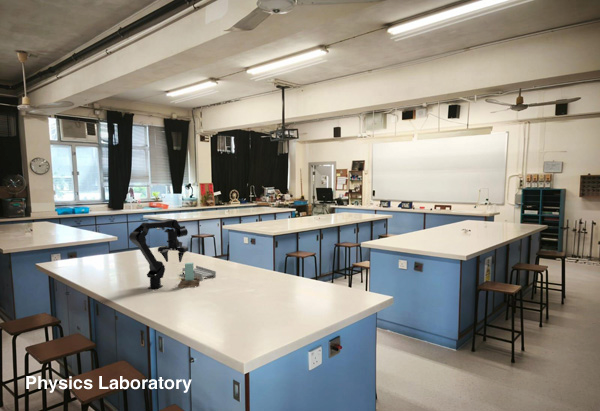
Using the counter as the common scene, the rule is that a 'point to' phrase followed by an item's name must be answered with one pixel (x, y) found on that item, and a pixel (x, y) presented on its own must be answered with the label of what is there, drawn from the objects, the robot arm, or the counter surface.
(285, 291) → the counter surface
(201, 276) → the test tube rack
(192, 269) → the mint green tall box
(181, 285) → the track board
